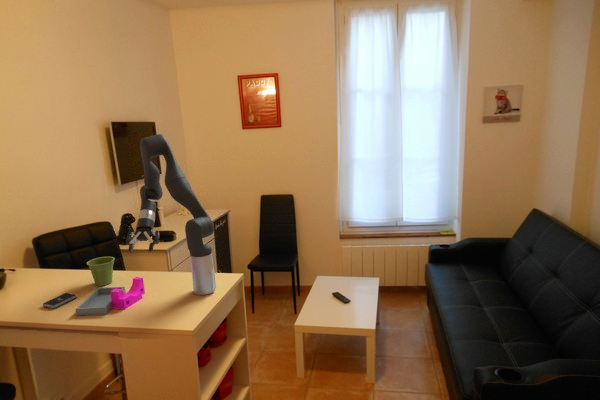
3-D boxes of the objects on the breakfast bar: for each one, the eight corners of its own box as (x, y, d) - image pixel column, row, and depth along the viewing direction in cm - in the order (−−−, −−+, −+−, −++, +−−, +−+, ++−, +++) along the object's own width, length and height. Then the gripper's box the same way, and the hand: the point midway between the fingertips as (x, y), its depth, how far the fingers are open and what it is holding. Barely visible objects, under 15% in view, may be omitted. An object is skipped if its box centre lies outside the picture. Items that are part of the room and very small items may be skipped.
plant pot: (123, 281, 188) (119, 258, 186) (99, 290, 178) (95, 267, 176) (108, 276, 194) (105, 254, 192) (84, 285, 185) (81, 262, 182)
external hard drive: (42, 308, 164) (41, 303, 163) (66, 296, 174) (66, 292, 173) (54, 310, 161) (53, 306, 161) (78, 298, 171) (77, 294, 171)
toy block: (125, 310, 159) (122, 292, 157) (112, 308, 161) (110, 291, 159) (149, 294, 173) (147, 278, 171) (138, 292, 175) (135, 276, 173)
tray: (125, 292, 174) (124, 286, 174) (106, 314, 155) (105, 307, 155) (98, 294, 174) (98, 288, 173) (76, 316, 155) (75, 309, 154)
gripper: (128, 217, 183) (121, 249, 175) (159, 216, 184) (154, 247, 175) (133, 225, 190) (127, 256, 181) (163, 224, 190) (158, 255, 182)
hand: (140, 252), depth 178 cm, fingers open, 8 cm apart
